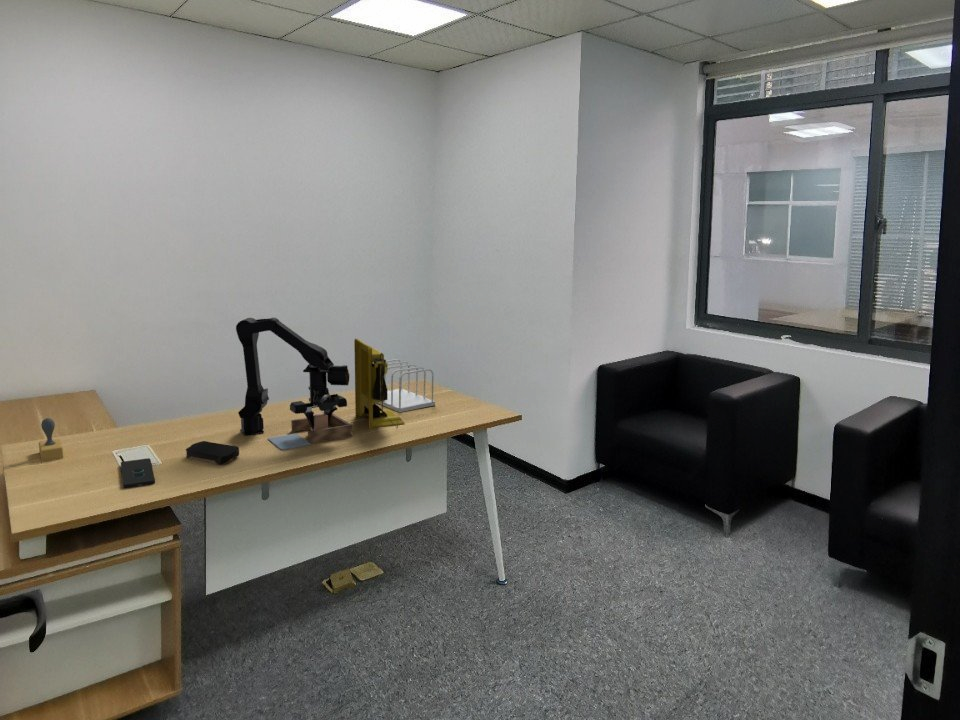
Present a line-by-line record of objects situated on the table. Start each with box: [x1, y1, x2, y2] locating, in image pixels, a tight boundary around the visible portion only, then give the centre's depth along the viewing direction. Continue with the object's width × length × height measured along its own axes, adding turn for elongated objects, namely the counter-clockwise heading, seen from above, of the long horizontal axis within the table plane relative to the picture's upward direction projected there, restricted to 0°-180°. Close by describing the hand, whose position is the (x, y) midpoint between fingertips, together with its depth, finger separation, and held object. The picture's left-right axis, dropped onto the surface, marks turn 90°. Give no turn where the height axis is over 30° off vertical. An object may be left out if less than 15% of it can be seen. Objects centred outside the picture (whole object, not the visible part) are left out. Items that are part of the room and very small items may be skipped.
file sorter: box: [378, 358, 436, 413], centre depth 282 cm, size 25×17×16 cm
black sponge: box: [185, 440, 240, 465], centre depth 215 cm, size 16×8×4 cm, turn 68°
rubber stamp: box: [38, 417, 64, 462], centre depth 213 cm, size 10×6×12 cm, turn 35°
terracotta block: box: [310, 411, 329, 431], centre depth 240 cm, size 4×4×7 cm
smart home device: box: [120, 458, 156, 489], centre depth 200 cm, size 8×2×20 cm
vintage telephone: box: [353, 338, 405, 430], centre depth 253 cm, size 31×14×30 cm, turn 25°
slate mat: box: [267, 432, 312, 451], centre depth 231 cm, size 10×13×1 cm
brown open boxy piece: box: [290, 413, 353, 444], centre depth 240 cm, size 16×16×4 cm
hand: (319, 428), depth 240 cm, fingers closed on terracotta block, 4 cm apart
